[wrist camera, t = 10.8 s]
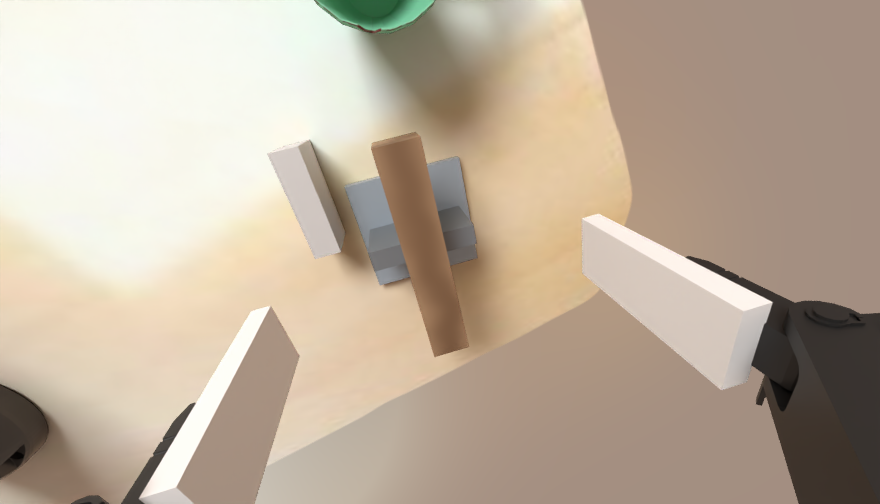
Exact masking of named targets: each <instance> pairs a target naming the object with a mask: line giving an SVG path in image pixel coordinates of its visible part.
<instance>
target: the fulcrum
mask: <svg viewBox="0 0 880 504" xmlns="http://www.w3.org/2000/svg"><path fill="white" fill-rule="evenodd" d="M427 168H428V172H429V176H430V181H431V185H432V189H433V194H434V198H435V202H436V207H437V211H438V215H439V219H440V224H441V228H442V232H443V237H444V241H445V245H446V250H447V254H448V258H449V263H450V266H451V265H454V264H458V263H461V262H465V261H469V260H472V259H476V258H477V252H476V247H475V244H476V237H475V232H474V226H473V224H472V222H471V220H470V215H469V209H468V204H467V199H466V193H465V188H464V182H463V177H462V172H461V166H460V161H459V157H457V156H456V157H452V158H448V159H444V160H440V161H437V162H433V163H429V164H427ZM344 188H345V190H346V193H347V196H348V199H349V201H350V204H351V207H352V210H353V212H354V215H355V218H356V221H357V223H358V226H359V229H360V232H361V234H362V237H363V240H364V243H365V245H366V248H367V251H368V254H369V257H370V260H371V262H372V265H373V268H374V271H375V273H376V276H377V278H378V281H379V284H380V285H383V284H387V283H390V282H394V281H397V280H401V279H404V278H408V277H410V274H409V271H408V268H407V265H406V261H405V258H404V255H403V251H402V248H401V245H400V242H399V238H398V235H397V232H396V228H395V225H394V222H393V219H392V215H391V212H390V209H389V205H388V202H387V199H386V196H385V192H384V189H383V186H382V183H381V179H380V176H379V177H375V178H371V179H367V180H363V181H360V182H356V183H352V184H348V185H345V187H344Z"/></svg>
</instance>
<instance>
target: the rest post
mask: <svg viewBox="0 0 880 504" xmlns="http://www.w3.org/2000/svg"><path fill="white" fill-rule="evenodd" d="M268 156H269V159H270V161H271V163H272V165H273V167H274V170H275V172H276V174H277V176H278V178H279V181H280V183H281V185H282V187H283V189H284V192H285V194H286V196H287V198H288V200H289V203H290V205H291V207H292V209H293V211H294V214H295V216H296V218H297V220H298V222H299V225H300V227H301V229H302V231H303V233H304V236H305V238H306V240H307V242H308V244H309V247H310V249H311V251H312V253H313V255H314V258H315V259H317V258H321V257H325V256H328V255H332V254H336V253H339V252H341V249H342V245H343V241H344V237H345V230H344V228H343V225H342V222H341V220H340V217H339V215H338V212H337V210H336V207H335V204H334V202H333V199H332V197H331V194H330V191H329V189H328V186H327V184H326V181H325V179H324V176H323V173H322V171H321V168H320V166H319V163H318V160H317V158H316V155H315V153H314V150H313V148H312V145H311V142H310V140H306V141H302V142H298V143H294V144H290V145H286V146H283V147H281V148H279V149H276V150H274V151H272V152H270V153H268Z"/></svg>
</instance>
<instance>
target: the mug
mask: <svg viewBox="0 0 880 504" xmlns="http://www.w3.org/2000/svg"><path fill="white" fill-rule="evenodd" d="M314 1H315V2H316V4H317V5H318V6H319V7H321V8H322V9H323V10H324V11H326V12H327V13H328V14H330V15H331V16H332V17H334V18H335V19H336V20H337V21H339V22H340V23H341V24H343V25H346V26H349V27H352V28H355V29H358V30H361V31H364V32H369V33H392V32H395V31H397V30H400V29H402V28H405V27H408V26H410V25H412V24H414V23H415V22H416V21H417V20H418V19H419V18H420V17H421V16H422V15H423V14H424V13H426V12H427V11H428V10H429V9H430V8H431V7H432V6H433V4H434V2H435V0H314Z"/></svg>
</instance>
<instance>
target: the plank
mask: <svg viewBox="0 0 880 504" xmlns="http://www.w3.org/2000/svg"><path fill="white" fill-rule="evenodd" d="M371 150H372V153H373V156H374V160H375V163H376V166H377V169H378V173H379V176H380V179H381V183H382V186H383V189H384V192H385V196H386V199H387V202H388V205H389V209H390V212H391V215H392V219H393V222H394V225H395V228H396V232H397V235H398V238H399V242H400V245H401V248H402V251H403V255H404V258H405V261H406V265H407V268H408V271H409V274H410V278H411V281H412V284H413V288H414V291H415V294H416V297H417V301H418V304H419V307H420V311H421V314H422V317H423V320H424V324H425V327H426V330H427V334H428V337H429V340H430V343H431V347H432V350H433V353H434V357H436V356H440V355H443V354H447V353H450V352H453V351H457V350H460V349H463V348H467V347H469V344H468V340H467V336H466V332H465V327H464V323H463V319H462V314H461V310H460V306H459V301H458V297H457V293H456V288H455V284H454V280H453V276H452V271H451V267H450V263H449V258H448V254H447V250H446V245H445V241H444V237H443V232H442V228H441V224H440V219H439V215H438V211H437V207H436V202H435V198H434V194H433V189H432V185H431V181H430V176H429V172H428V168H427V163H426V159H425V155H424V150H423V146H422V142H421V138H420V136H419V135H418V134H417V133H415V132H414V133H410V134H406V135H402V136H398V137H394V138H390V139H386V140H382V141H378V142H374V143H372V147H371Z"/></svg>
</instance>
